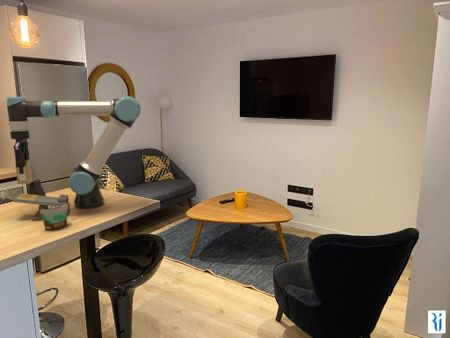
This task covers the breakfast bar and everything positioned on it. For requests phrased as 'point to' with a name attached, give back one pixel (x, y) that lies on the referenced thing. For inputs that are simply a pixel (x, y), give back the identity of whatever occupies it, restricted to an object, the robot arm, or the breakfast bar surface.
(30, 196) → the beam
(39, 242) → the breakfast bar surface
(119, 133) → the robot arm
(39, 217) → the beam stand
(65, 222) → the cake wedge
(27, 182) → the wooden block
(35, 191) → the phone stand
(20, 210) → the breakfast bar surface
